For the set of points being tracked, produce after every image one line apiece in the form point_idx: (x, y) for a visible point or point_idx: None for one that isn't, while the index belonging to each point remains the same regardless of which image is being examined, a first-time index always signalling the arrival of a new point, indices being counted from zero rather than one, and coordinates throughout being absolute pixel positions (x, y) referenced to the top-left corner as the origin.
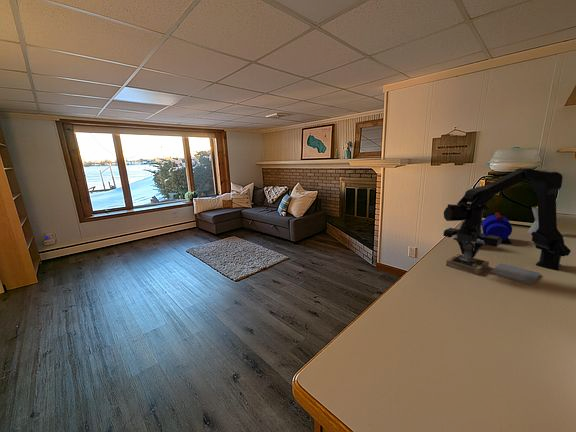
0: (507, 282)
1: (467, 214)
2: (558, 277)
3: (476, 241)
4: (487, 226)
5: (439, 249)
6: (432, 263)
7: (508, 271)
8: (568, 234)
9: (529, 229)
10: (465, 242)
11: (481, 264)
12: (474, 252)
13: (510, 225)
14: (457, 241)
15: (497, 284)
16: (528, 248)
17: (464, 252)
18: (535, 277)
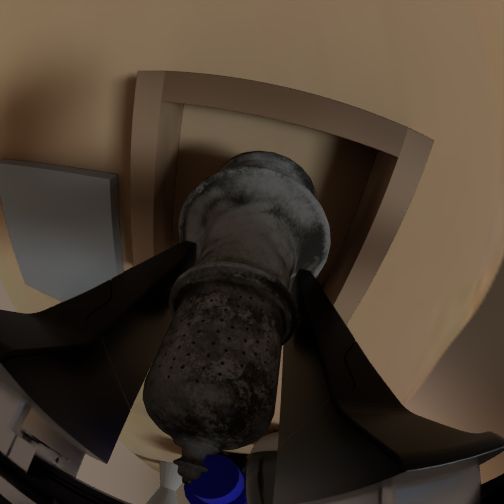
0: (41, 105)
1: None
2: (13, 283)
3: (258, 452)
4: (240, 496)
5: (413, 376)
6: (491, 135)
7: (65, 239)
8: (142, 459)
9: None
10: (283, 439)
11: (148, 213)
12: (149, 267)
13: (186, 494)
14: (426, 421)
15: (65, 33)
16: (149, 431)
17: (285, 278)
18: (10, 232)
